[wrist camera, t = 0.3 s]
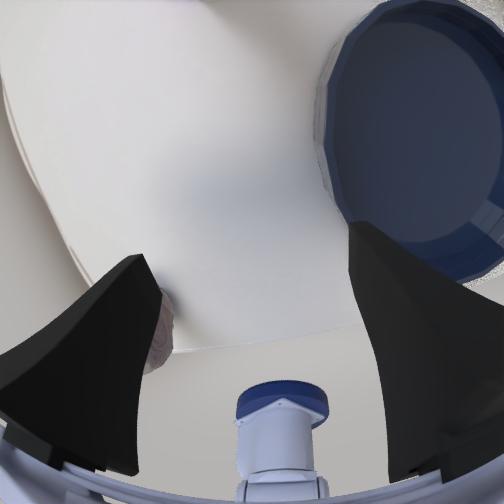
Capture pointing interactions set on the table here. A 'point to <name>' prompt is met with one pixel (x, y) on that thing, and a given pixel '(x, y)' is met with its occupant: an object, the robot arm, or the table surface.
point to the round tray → (419, 131)
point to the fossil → (161, 337)
